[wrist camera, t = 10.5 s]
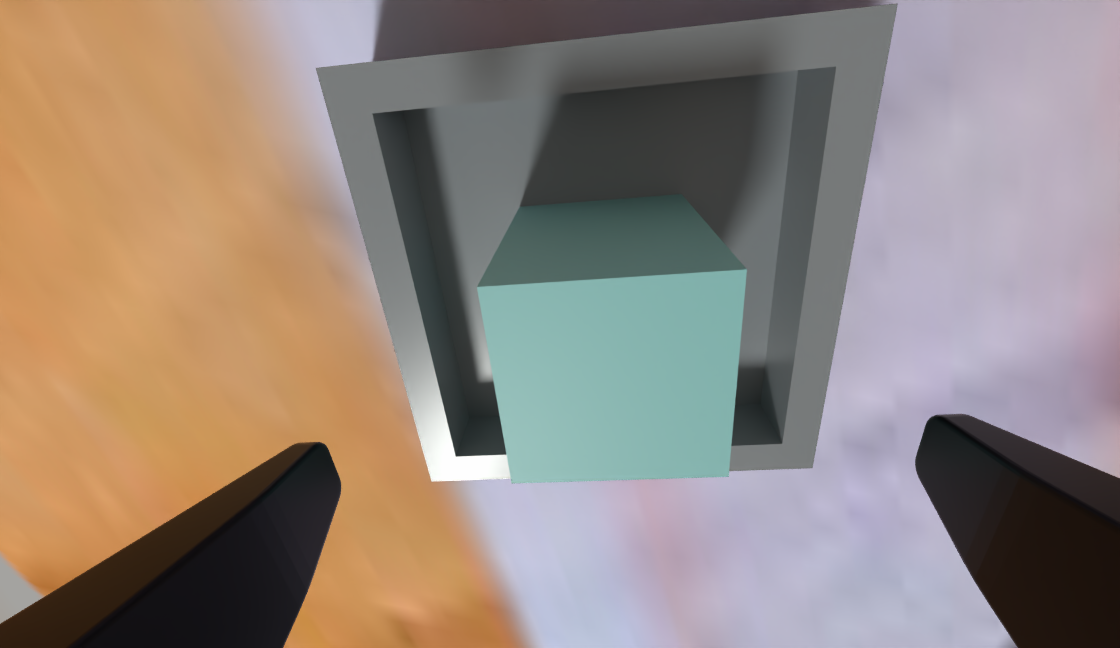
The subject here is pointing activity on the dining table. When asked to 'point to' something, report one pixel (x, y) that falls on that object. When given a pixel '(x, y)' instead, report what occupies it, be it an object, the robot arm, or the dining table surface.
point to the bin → (618, 195)
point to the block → (614, 341)
